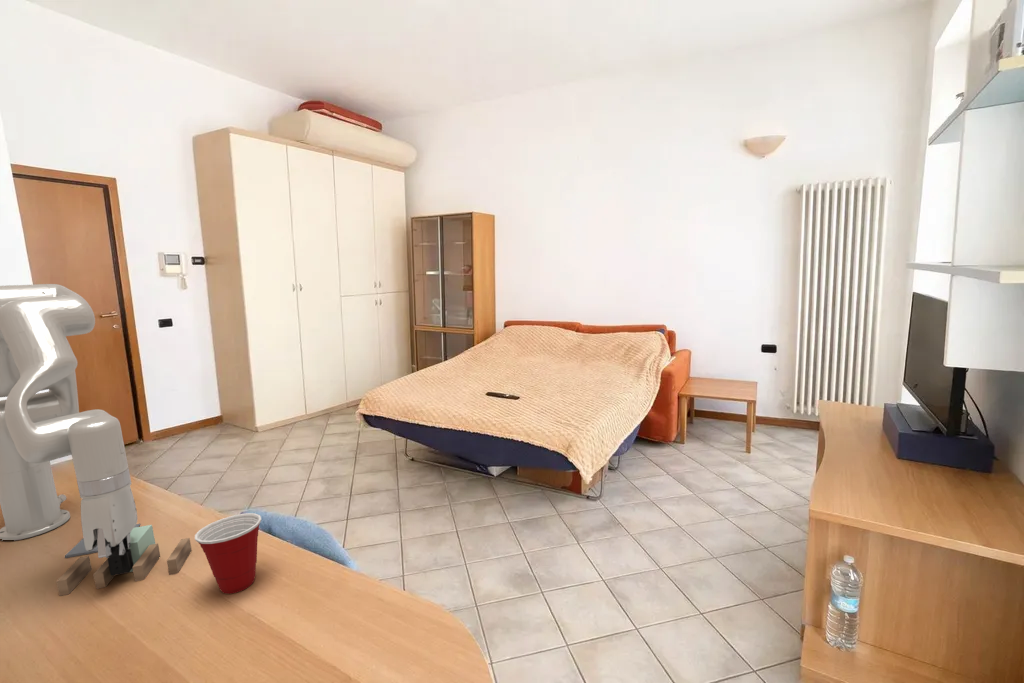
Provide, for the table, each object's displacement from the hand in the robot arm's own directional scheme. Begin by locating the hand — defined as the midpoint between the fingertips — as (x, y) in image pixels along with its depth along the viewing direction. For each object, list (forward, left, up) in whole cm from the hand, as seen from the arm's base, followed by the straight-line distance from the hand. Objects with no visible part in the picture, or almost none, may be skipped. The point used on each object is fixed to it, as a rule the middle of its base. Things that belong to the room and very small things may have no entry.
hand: (122, 571), depth 95 cm
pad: (-19, -11, -2) cm, 22 cm away
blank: (-6, 0, -2) cm, 6 cm away
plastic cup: (+9, +22, -2) cm, 24 cm away
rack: (-3, 0, -2) cm, 3 cm away
